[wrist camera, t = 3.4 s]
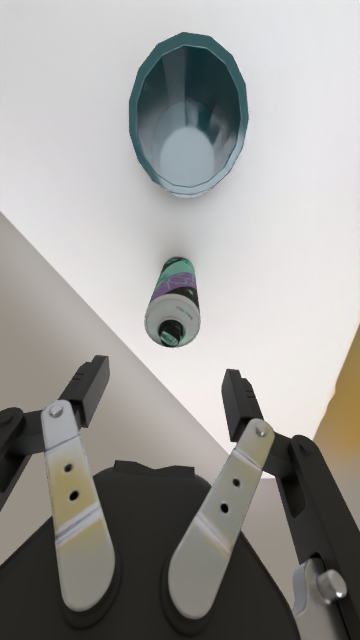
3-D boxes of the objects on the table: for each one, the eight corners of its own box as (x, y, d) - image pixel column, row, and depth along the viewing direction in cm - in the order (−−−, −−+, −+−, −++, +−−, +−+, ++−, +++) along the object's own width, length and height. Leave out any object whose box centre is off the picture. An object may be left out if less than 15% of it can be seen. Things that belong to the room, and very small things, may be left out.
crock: (146, 193, 29) (129, 187, 20) (149, 89, 24) (127, 22, 15) (218, 202, 29) (232, 200, 21) (235, 102, 24) (264, 43, 15)
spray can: (193, 288, 36) (200, 366, 18) (162, 287, 36) (140, 363, 18) (195, 256, 33) (205, 312, 16) (162, 255, 33) (135, 309, 16)
